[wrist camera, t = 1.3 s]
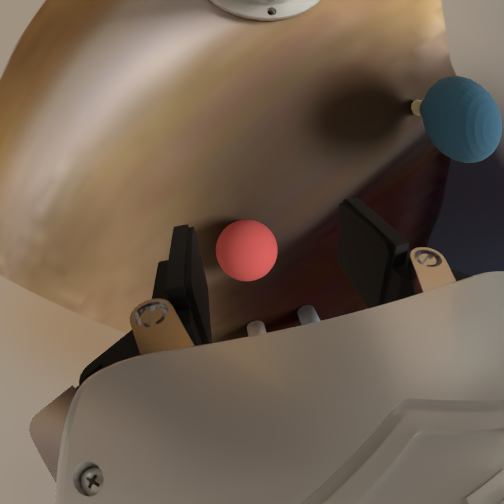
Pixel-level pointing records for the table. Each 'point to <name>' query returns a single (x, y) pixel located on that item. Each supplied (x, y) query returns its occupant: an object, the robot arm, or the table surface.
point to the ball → (246, 250)
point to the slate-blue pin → (307, 315)
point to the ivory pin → (256, 328)
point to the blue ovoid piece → (460, 119)
